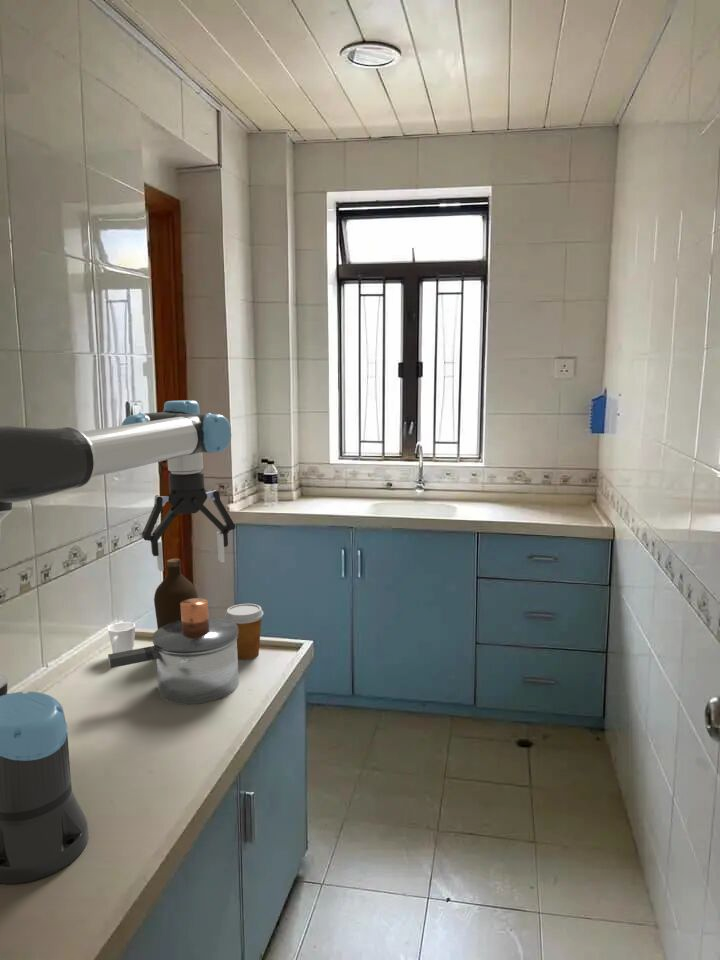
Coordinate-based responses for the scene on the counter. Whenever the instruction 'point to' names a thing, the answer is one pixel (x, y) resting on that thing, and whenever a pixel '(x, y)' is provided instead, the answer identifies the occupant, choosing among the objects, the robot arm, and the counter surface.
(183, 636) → the cooker lid
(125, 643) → the cup
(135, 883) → the counter surface
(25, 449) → the robot arm
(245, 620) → the disposable coffee cup
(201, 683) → the cooker body
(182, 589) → the olive oil
